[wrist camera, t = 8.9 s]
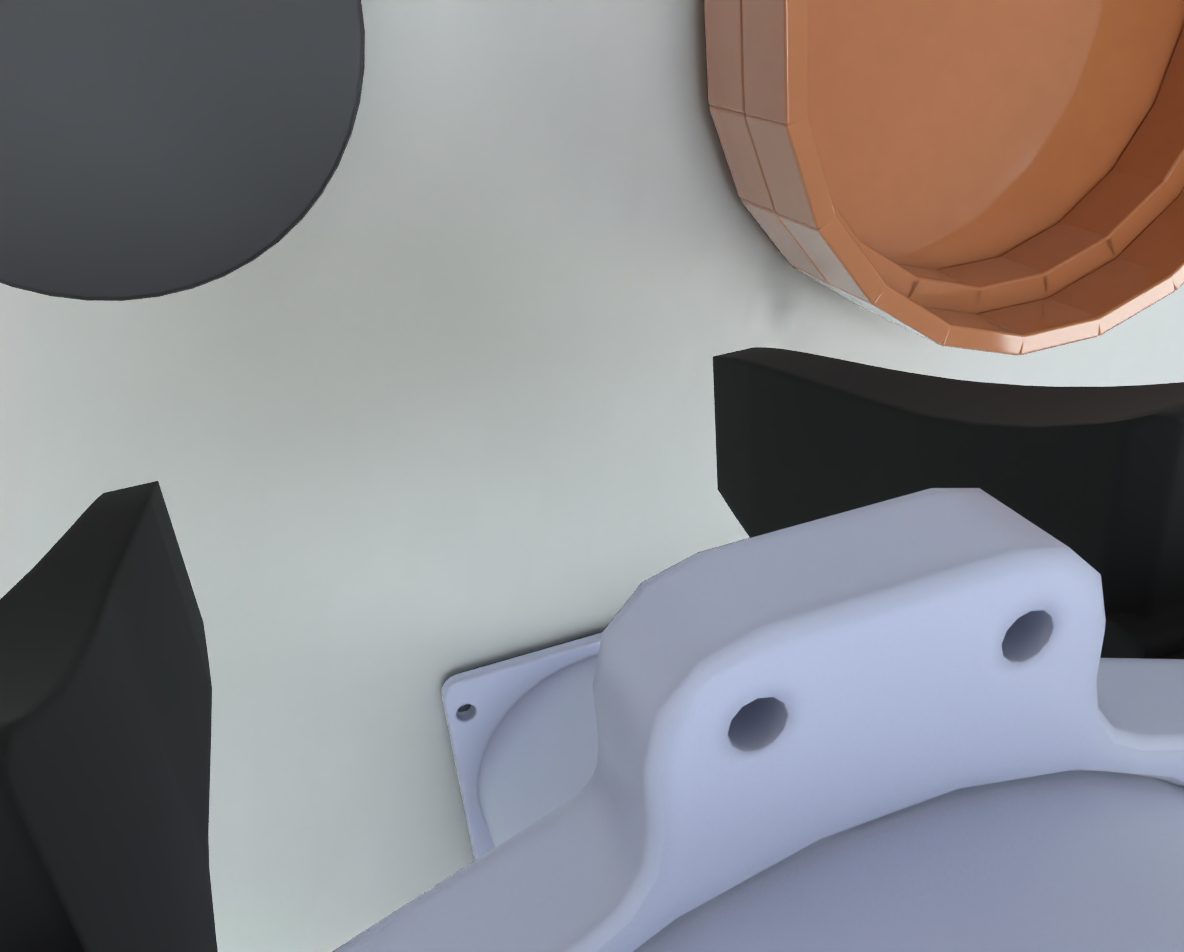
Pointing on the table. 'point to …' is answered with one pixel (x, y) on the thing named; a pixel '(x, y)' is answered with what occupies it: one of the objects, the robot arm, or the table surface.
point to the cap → (165, 136)
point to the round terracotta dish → (962, 156)
